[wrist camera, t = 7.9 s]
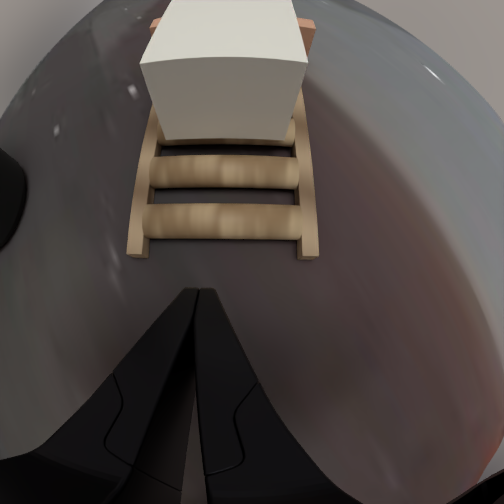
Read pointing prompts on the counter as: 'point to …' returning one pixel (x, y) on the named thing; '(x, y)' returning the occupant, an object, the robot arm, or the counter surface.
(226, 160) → the roller bed
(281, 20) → the white box on pallet
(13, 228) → the coffee jar
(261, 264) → the counter surface
